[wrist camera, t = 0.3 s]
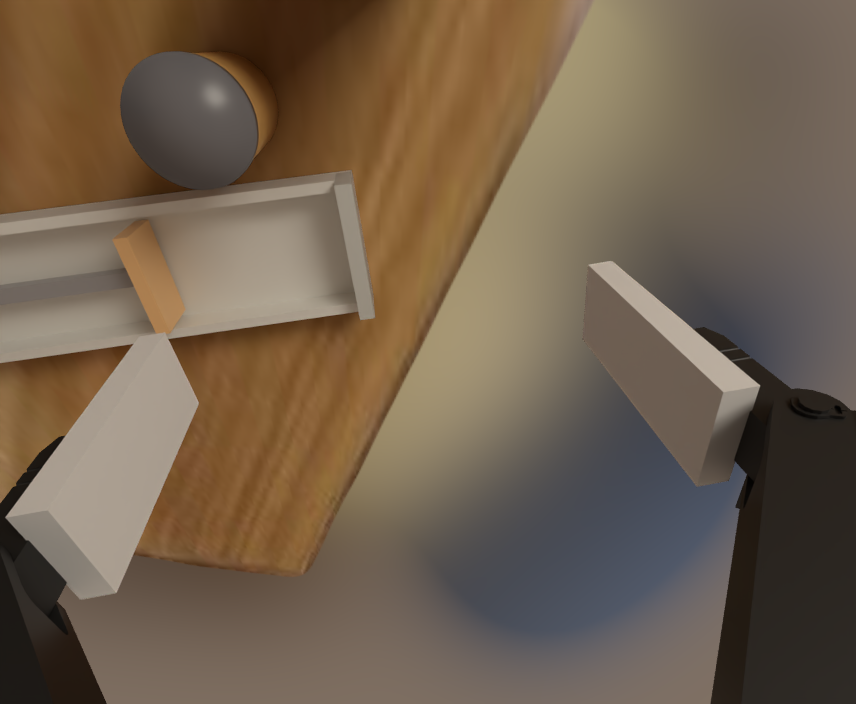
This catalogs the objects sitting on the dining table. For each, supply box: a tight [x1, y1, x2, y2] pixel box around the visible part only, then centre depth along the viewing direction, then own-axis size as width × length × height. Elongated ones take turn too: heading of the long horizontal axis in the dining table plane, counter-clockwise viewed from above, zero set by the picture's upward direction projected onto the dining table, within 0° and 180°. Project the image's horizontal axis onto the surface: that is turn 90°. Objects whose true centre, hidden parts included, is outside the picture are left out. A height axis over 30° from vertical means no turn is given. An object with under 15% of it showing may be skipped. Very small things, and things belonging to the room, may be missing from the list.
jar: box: [120, 51, 278, 190], centre depth 29 cm, size 7×7×10 cm
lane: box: [0, 170, 375, 363], centre depth 36 cm, size 11×40×6 cm, turn 96°
